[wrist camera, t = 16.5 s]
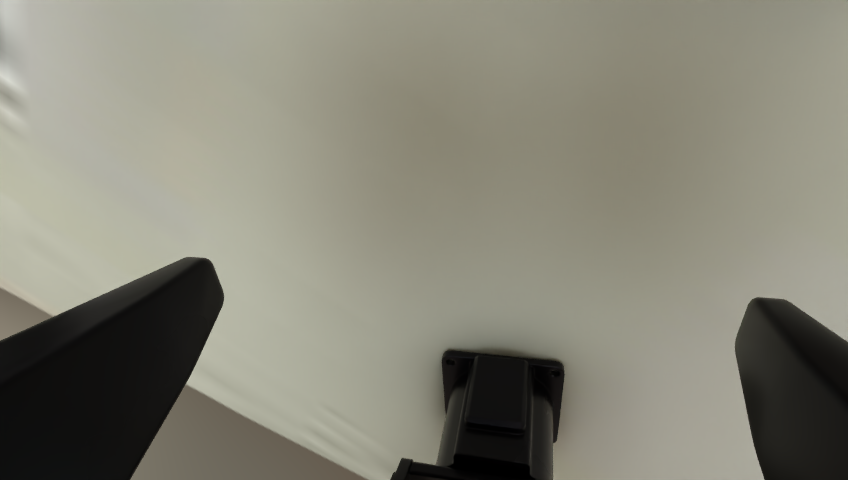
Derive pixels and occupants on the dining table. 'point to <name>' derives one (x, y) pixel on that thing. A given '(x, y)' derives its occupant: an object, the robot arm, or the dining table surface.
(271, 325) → the dining table surface
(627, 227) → the dining table surface
